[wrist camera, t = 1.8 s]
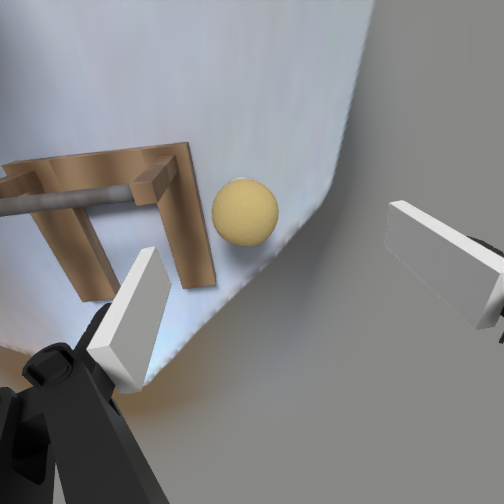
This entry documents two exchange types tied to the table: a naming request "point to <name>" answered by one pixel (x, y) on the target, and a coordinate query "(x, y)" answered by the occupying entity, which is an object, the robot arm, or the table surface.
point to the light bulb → (245, 212)
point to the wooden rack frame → (106, 192)
